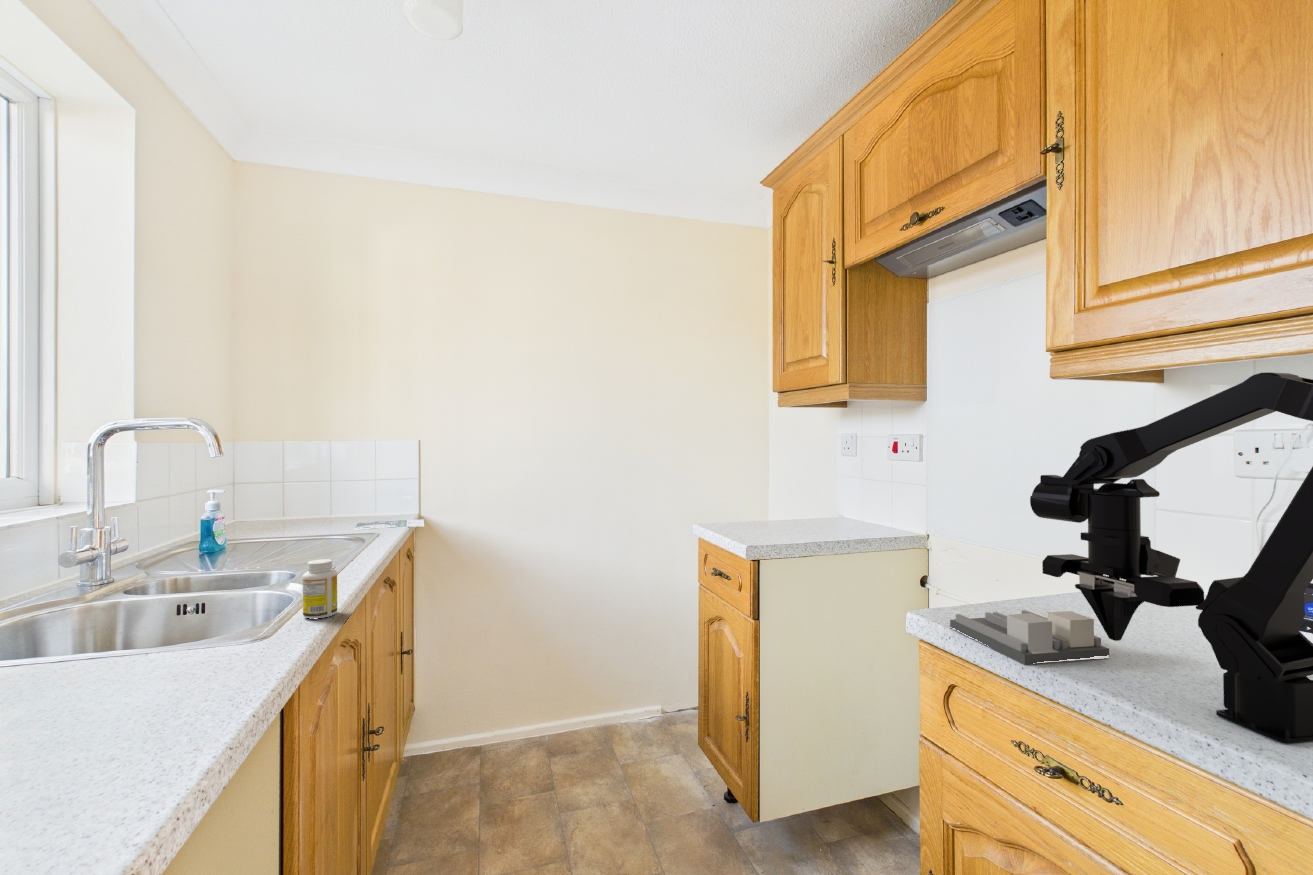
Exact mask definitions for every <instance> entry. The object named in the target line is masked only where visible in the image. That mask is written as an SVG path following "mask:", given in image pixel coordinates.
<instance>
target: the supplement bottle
mask: <svg viewBox="0 0 1313 875" xmlns="http://www.w3.org/2000/svg"><path fill="white" fill-rule="evenodd" d="M337 613H338V571H337V570H336V569H333V560H332V559H328V558H327V559H326V558H322V559H320V558H319V559H313V560H310V561H308V562H307V571H306V572H305V573H303V575H302V617H303V618H304V617H305V618H304V619H306V618H311V619H314V618H323V619H325V618H324V617H328V618H330V617H329V616H331V617H332V615H333V616H335V615H336V614H337ZM334 614H335V615H334Z"/></svg>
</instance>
